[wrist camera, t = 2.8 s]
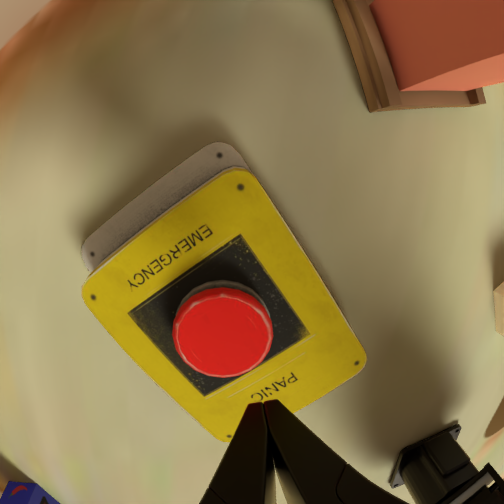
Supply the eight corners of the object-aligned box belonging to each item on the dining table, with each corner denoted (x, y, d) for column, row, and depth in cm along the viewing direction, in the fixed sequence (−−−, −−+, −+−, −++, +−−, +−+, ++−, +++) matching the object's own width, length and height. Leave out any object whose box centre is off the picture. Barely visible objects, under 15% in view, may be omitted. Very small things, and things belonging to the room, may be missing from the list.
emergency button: (225, 116, 10) (399, 399, 13) (224, 134, 14) (367, 357, 18) (36, 270, 10) (248, 481, 14) (79, 246, 14) (242, 430, 18)
